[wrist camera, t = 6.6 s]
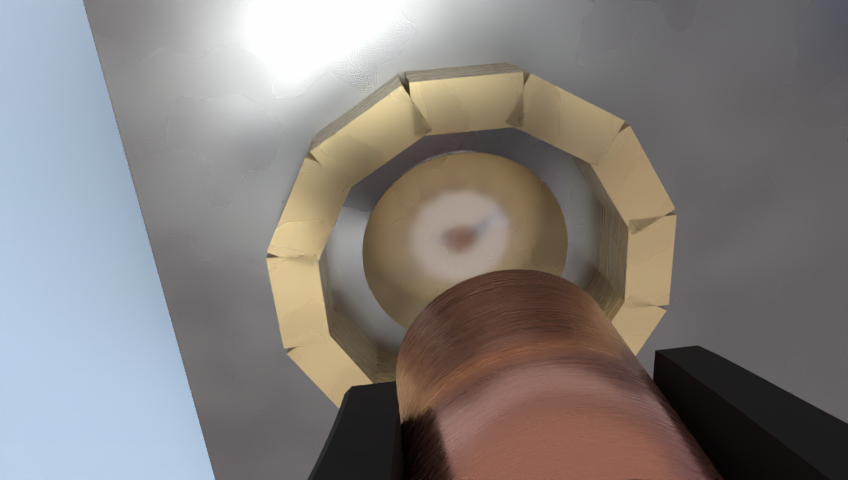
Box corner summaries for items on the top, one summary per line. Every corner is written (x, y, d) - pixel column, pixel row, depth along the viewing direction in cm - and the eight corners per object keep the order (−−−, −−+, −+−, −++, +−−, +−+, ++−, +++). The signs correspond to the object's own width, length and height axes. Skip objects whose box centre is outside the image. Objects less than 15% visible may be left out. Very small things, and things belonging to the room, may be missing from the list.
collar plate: (961, -123, 13) (1086, -147, 10) (838, 415, 18) (904, 475, 16) (86, -52, 12) (21, -63, 10) (231, 491, 17) (210, 565, 15)
